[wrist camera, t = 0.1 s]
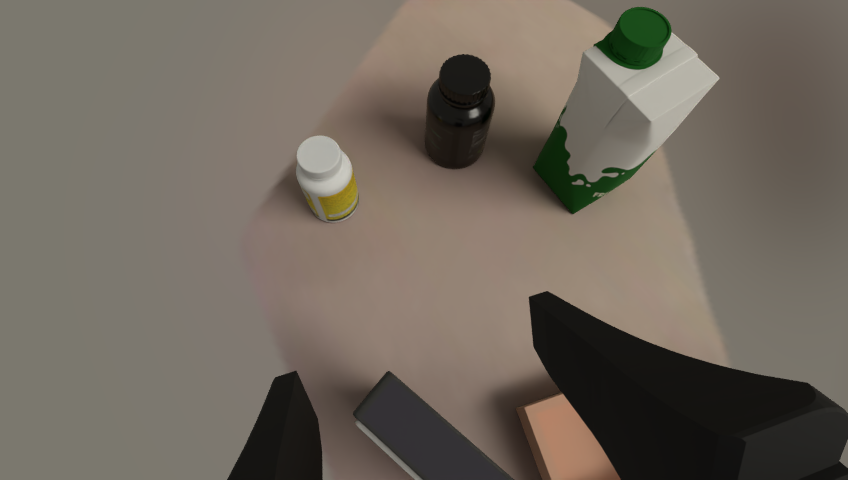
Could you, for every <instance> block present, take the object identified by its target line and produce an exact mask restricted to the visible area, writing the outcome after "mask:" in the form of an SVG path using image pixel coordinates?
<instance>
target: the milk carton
mask: <svg viewBox="0 0 848 480" xmlns="http://www.w3.org/2000/svg"><path fill="white" fill-rule="evenodd" d="M697 56H698V55H697V53H696V52H695V51H694V50H693V49H691V48H690V47H689V46H687V45H686V44H684V43H683V42H682V41H681V40H680V39H679V38H678V37H677V36H675V35H674V34H673V33H672V32H671V26H670V23H669V21H668V20H667V19H666V18H665V17H664V16H663V15H662V14H660V13H659V12H658V11H655V10H653V9H650V8H645V7H635V8H631V9H629V10H627V11H625V12H624V13H623V14H622V15H621V17H620V18H619V20H618V22H617V24H616V26H615V28H614V29H613V31H611V32H610V33H609V34H608V35H607V36H606V37H605V38H604V39H603V40H602V41H599V42H598V43H596V44H594V46H593V47H592V48H590V49H588V50H586V51H584V52H583V54H582V59H581V64H580V69H579V74H578V79H577V82H576V84H575V86H574V88H573V90H572V92H571V94H570V97H569V99H568V101H567V103H566V105H565V107H564V109H563V111H562V113H561V115H560V117H559V119H558V121H557V123H556V125H555V127H554V129H553V131H552V133H551V135H550V137H549V139H548V140H547V142H546V144H545V146H544V148H543V150H542V151H541V153H540V155H539V157H538V159H537V161H536V163H535V165H534V166H533V168H534V169H535V171H536V172H537V173H538V174H539V175H540V176H541V178H542V179H543V180H544V181H545V182H546V184H547V185H548V186H549V187H550V188H551V189H552V191H553V192H554V193H555V194H556V195H557V196H558V198H559V199H560V200H561V201H562V202H563V204H564V205H565V206H566V207H567V208H568V209H569V211H570V212H571V213H572V214H574V213H576V212H577V211H579V210H581V209H582V208H584V207H586V206H587V205H589V204H591V203H592V202H594V201H596V200H597V199H599V198H601V197H602V196H604V195H606V194H607V193H609V192H610V191H612V190H613V189H615V188H616V187H618V186H619V185H621V184H622V183H624V182H625V181H627V180H628V179H630V178H631V177H632V176H633V175H634V174H635V173H636V172H637V171H638V169H639V168H640V167H641V166H642V165H643V164H644V163H645V162H646V161H647V160H648V159H649V158H650V157H651V155H652V154H653V153H654V152H655V151H656V150H657V149H658V148H659V147H660V146H661V145H662V143H663V142H664V141H665V140H666V139H667V138H668V137H669V136H670V135H671V134H672V133H673V132H674V130H675V129H676V128H677V127H678V126H679V125H680V124H681V122H682V121H683V120H684V119H685V118H686V116H687V115H688V114H689V113H690V112H691V111H692V109H693V108H694V107H695V106H696V105H697V103H698V102H699V101H700V100H701V99H702V98H703V97H704V95H705V94H706V93H707V92H708V91H709V90H710V89H711V87H712V86H713V85H714V84H715V83H716V82H717V81H718V80H719V77H718V76H717V75H716V74H715V73H714V72H713V71H712V70H711V69H710V68H708V67H707V66H706V65H705V64H704V63H703V62H702V61H701V60H700V59H699V58H698V57H697Z"/></svg>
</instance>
